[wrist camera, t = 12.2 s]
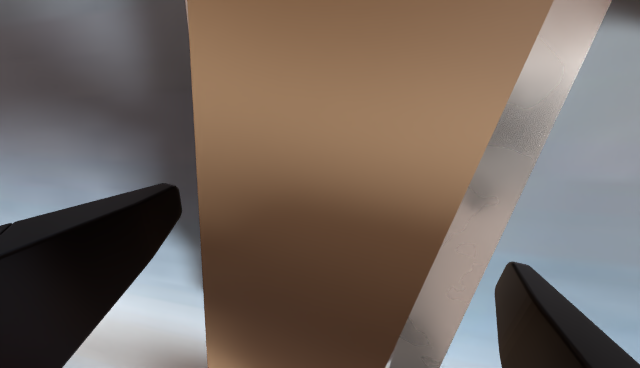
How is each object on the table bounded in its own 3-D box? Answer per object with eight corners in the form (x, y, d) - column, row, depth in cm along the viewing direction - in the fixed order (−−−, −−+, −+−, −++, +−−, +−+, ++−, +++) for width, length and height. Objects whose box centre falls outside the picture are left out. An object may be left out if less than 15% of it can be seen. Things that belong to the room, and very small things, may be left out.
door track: (418, 352, 18) (418, 421, 15) (251, 304, 20) (221, 358, 17) (667, -275, 7) (864, -494, 4) (230, -254, 9) (131, -391, 6)
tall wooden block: (363, 303, 16) (331, 484, 10) (286, 278, 16) (211, 435, 10) (480, -47, 8) (631, -168, 3) (333, -69, 9) (175, -208, 3)
